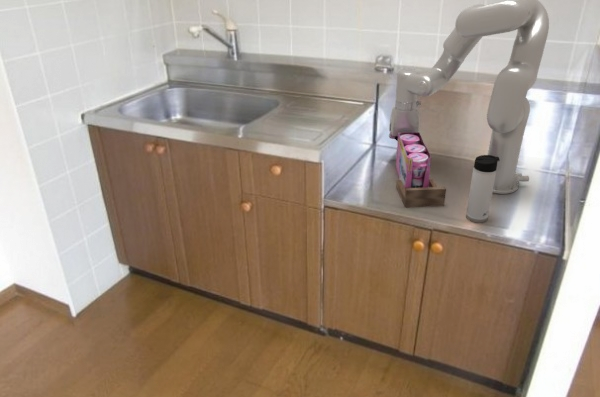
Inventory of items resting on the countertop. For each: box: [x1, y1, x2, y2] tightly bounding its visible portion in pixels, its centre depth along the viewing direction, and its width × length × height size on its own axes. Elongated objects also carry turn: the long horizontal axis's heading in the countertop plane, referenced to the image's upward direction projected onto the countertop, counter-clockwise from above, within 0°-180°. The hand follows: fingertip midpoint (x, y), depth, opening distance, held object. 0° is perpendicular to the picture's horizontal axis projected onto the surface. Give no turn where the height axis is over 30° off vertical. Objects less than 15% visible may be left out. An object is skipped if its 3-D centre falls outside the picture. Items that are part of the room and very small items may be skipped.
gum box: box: [395, 132, 432, 189], centre depth 170 cm, size 24×8×14 cm, turn 178°
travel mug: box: [465, 154, 500, 224], centre depth 145 cm, size 6×7×20 cm
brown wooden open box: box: [395, 178, 447, 208], centre depth 162 cm, size 12×14×6 cm
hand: (402, 152), depth 185 cm, fingers closed
